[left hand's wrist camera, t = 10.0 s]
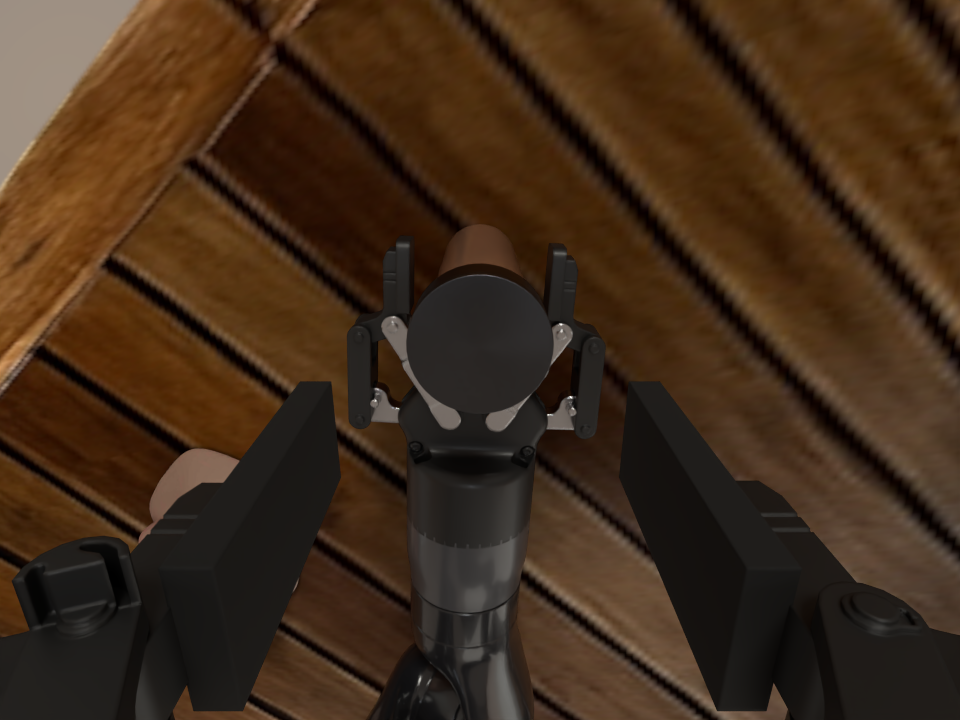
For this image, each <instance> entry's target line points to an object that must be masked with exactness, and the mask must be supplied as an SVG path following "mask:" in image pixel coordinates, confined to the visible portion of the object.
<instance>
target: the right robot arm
mask: <svg viewBox="0 0 960 720" xmlns="http://www.w3.org/2000/svg"><path fill="white" fill-rule="evenodd" d="M577 275H578V269H577V265H576V262H575V260H574V259H573V257H572V256H570V255H567V249H566V247H565V246H564V245H563V244H556V243H549V247H548V256H547V267H546V279H545V290H544V301H543V305H544V308H545V310H546V313H547V315H548V318H549V321H550V323H551V327H552V331H553V338H554V350H553V357H552V362H551V364H550V366H551V365H552V363H553V362H554V361H555V360H556V358H557V357H558V356H559V355H560V353H561V352H562V351H563V350H564V348H565V347H569V348H571V349H574V354H573V365H572V376H571V387H570V390H567V391H564V392H562V393H561V394H560V395H559V397H558V400H557V403H556V404H555V405H554V406H552V407H550V408H545V405H544V404H543V402H542V401H541V399H540V398H539V396H538V395H537V393H536V392H535V391H534V392H533V393H532V394H531V395H530V396H528V397H527V398H526V399H525V400H523V401H522V402H520V403H519V404H517V405H515V406H513V407H511V408H508V409H505V410H502V411H498V412H494V413H486V414H474V413H466V412H462V411H458V410H455V409H452V408H450V407H447V406H445V405H443V404H442V403H440V402H438V401H437V400H435V399H434V398H433V397H431V396H430V395H429V394H428V393H427V392H426V391H425V390H424V389H423V388H422V386H421V385H420V384H419V383H418V381H417V379H416V378H415V376H414V374H413V372H412V370H411V368H410V364H409V361H408V357H407V351H406V338H407V331H408V327H409V323H410V321H411V318H412V314H411V313H410V311H411V309H412V307H413V304H414V236H400V237H399V238H398V239H397V241H396V247H390V248H389V249H388V250H387V252H386V255H385V257H384V260H383V297H384V308H383V309H382V310H381V311H379V312H376V313H372V314H367V313H366V314H362V315H360V316H359V317H358V319H357V320H356V322H355V324H354V326H352V327H351V328H350V330H349V331H348V334H347V358H348V408H349V422H350V424H351V425H352V426H353V427H355V428H357V429H364V428H366V427H368V426H369V424H370V422H371V421H372V422H390V423H399V425H400V427H401V428H402V430H403V431H404V433H405V436H406V439H407V549H408V557H409V562H410V568H411V627H412V633H413V637H414V640H415V643H414V644H412V645H411V646H410V647H409V648H408V649H407V650H406V651H405V652H404V653H403V655H402V656H401V658H400V659H399V661H398V662H397V664H396V666H395V668H394V670H393V671H392V673H391V675H390V677H389V679H388V681H387V683H386V685H385V687H384V689H383V691H382V693H381V695H380V696H379V698H378V700H377V702H376V704H375V705H374V707H373V709H372V710H371V712H370V714H369V715H368V717H367V719H366V720H533V718H534V699H533V690H532V685H531V679H530V675H529V671H528V667H527V663H526V659H525V655H524V651H523V646H522V642H521V637H520V633H519V630H518V627H517V623H516V620H517V610H518V599H519V588H520V577H521V572H522V568H523V565H524V561H525V557H526V551H527V543H528V533H529V522H530V512H531V501H532V490H533V480H534V469H535V458H536V448H537V444H538V442H539V440H540V438H541V436H542V435H543V434H544V432H545V431H546V429H560V430H574V431H575V434H576V435H577V436H578V437H580V438H582V439H587V438H590V437H592V436H593V435H594V434H595V432H596V428H597V419H598V410H599V401H600V392H601V384H602V375H603V366H604V357H605V343H604V341H603V340H602V338H601V337H600V335H599V333H598V332H597V330H596V329H595V327H594V326H592V325H590V324H583V323H581V322H578V321H576V320H575V319H573V312H574V303H575V293H576V284H577ZM386 338H387V339H388V341H389V342H390V344H391V345H392V347H393V348H394V350H395V351H396V353H397V354H398V356H399V357H400V359H401V362H402V366H403V368H404V370H405V371H406V373H407V374H408V376H409V377H410V379H411V380H412V382H413V383H414V386H413V387H412V388H411V390H410V391H409V392H408V393H407V394H406V396H405V397H404V398H403V400H402V402H399V401H396V400H394V399H393V398H392V397H391V395H390V390H389V388H388V386H387V385H386V384H384V383H381V382H378V341H379V340H383V339H386ZM549 369H550V367H549ZM548 372H549V370H548ZM548 372H547V374H548ZM547 374H546V375H547ZM545 377H546V376H545Z"/></svg>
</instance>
